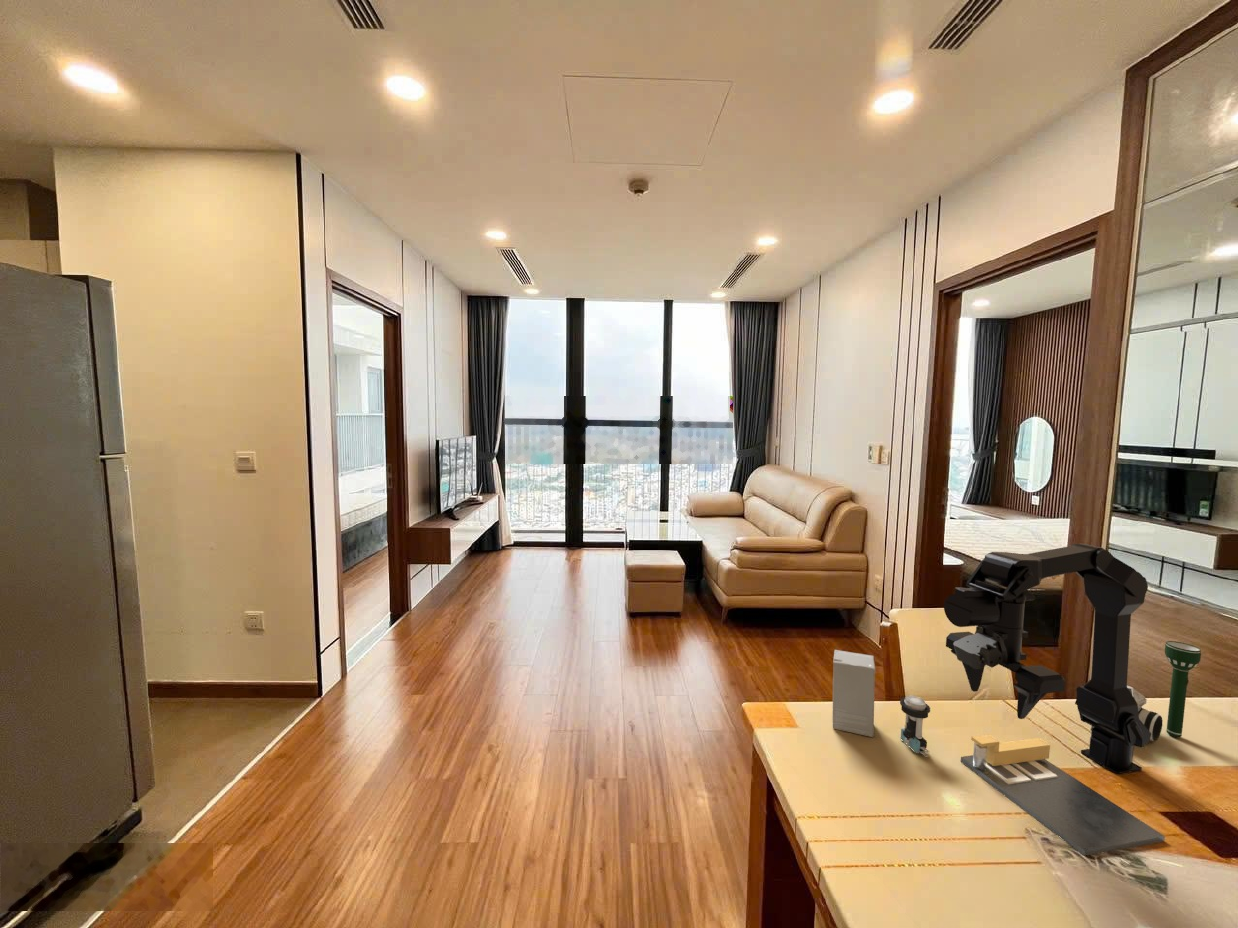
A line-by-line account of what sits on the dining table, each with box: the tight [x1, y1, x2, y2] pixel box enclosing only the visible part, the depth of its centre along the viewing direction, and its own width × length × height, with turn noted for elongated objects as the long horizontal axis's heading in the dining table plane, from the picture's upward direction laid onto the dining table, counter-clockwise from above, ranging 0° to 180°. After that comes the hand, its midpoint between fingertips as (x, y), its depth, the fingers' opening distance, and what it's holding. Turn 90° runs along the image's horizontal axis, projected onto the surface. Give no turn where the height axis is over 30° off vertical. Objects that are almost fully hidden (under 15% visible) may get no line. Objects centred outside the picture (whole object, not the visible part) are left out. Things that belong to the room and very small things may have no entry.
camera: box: [1090, 685, 1163, 742], centre depth 107 cm, size 16×9×10 cm, turn 117°
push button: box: [899, 695, 931, 758], centre depth 101 cm, size 7×5×10 cm
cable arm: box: [970, 734, 1051, 766], centre depth 96 cm, size 16×2×5 cm, turn 101°
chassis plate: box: [960, 754, 1166, 857], centre depth 88 cm, size 16×22×1 cm
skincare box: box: [832, 649, 876, 738], centre depth 108 cm, size 8×7×16 cm
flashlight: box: [1164, 640, 1202, 738], centre depth 107 cm, size 5×5×20 cm
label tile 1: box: [1012, 761, 1057, 780], centre depth 95 cm, size 5×6×1 cm
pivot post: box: [972, 741, 987, 770], centre depth 95 cm, size 2×2×5 cm
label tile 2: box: [986, 761, 1031, 784], centre depth 94 cm, size 5×6×1 cm
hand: (996, 703), depth 92 cm, fingers open, 9 cm apart
